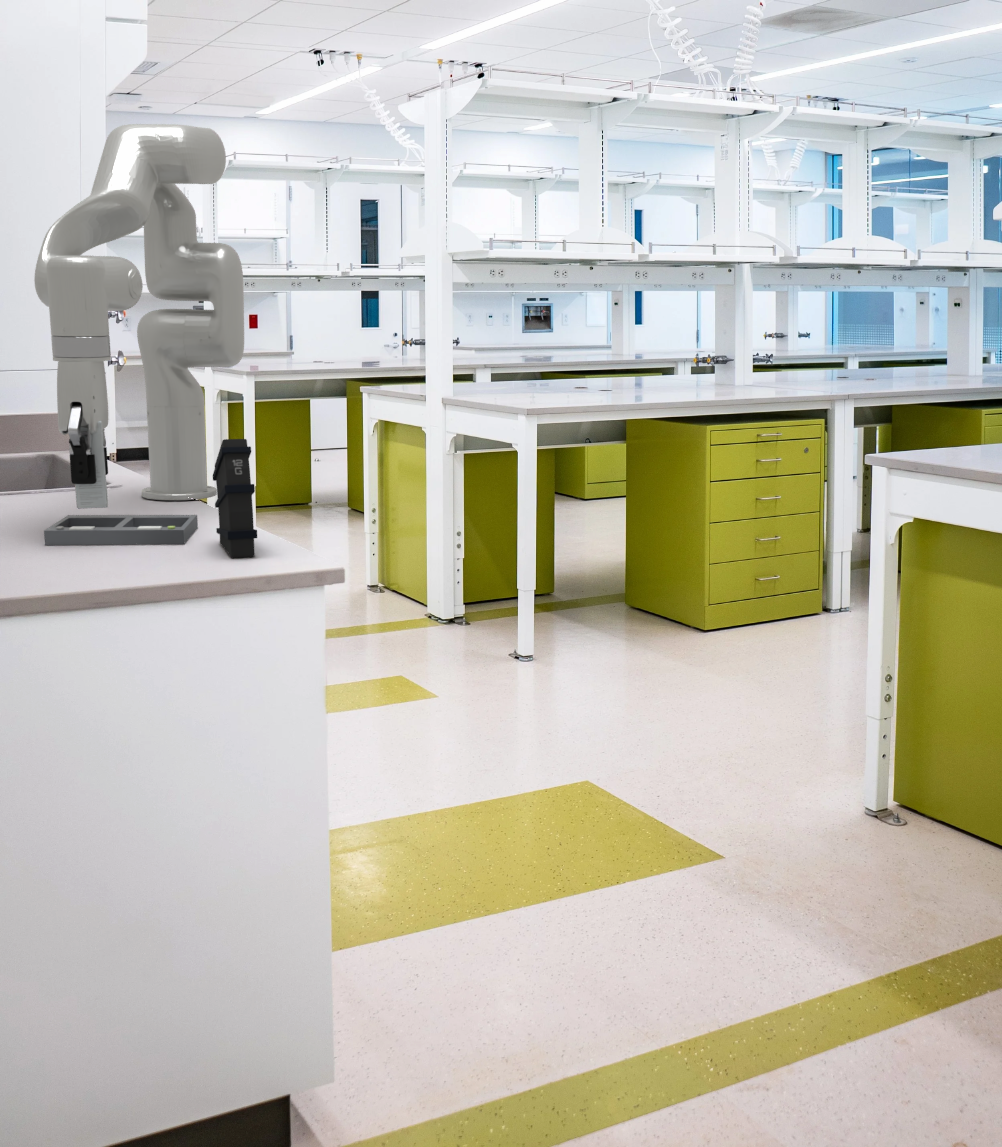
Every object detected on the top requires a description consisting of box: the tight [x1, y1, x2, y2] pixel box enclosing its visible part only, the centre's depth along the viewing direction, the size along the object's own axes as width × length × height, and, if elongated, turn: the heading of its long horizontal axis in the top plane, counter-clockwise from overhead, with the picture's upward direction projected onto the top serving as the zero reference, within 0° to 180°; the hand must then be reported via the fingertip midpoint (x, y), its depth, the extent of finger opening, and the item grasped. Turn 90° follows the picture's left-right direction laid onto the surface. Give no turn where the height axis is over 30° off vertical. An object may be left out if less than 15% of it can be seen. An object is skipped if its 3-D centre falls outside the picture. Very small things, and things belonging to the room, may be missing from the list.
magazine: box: [212, 438, 258, 559], centre depth 158 cm, size 4×13×15 cm, turn 21°
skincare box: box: [74, 421, 109, 510], centre depth 166 cm, size 6×4×12 cm
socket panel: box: [43, 514, 199, 546], centre depth 168 cm, size 13×18×2 cm
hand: (90, 478), depth 166 cm, fingers closed on skincare box, 6 cm apart
